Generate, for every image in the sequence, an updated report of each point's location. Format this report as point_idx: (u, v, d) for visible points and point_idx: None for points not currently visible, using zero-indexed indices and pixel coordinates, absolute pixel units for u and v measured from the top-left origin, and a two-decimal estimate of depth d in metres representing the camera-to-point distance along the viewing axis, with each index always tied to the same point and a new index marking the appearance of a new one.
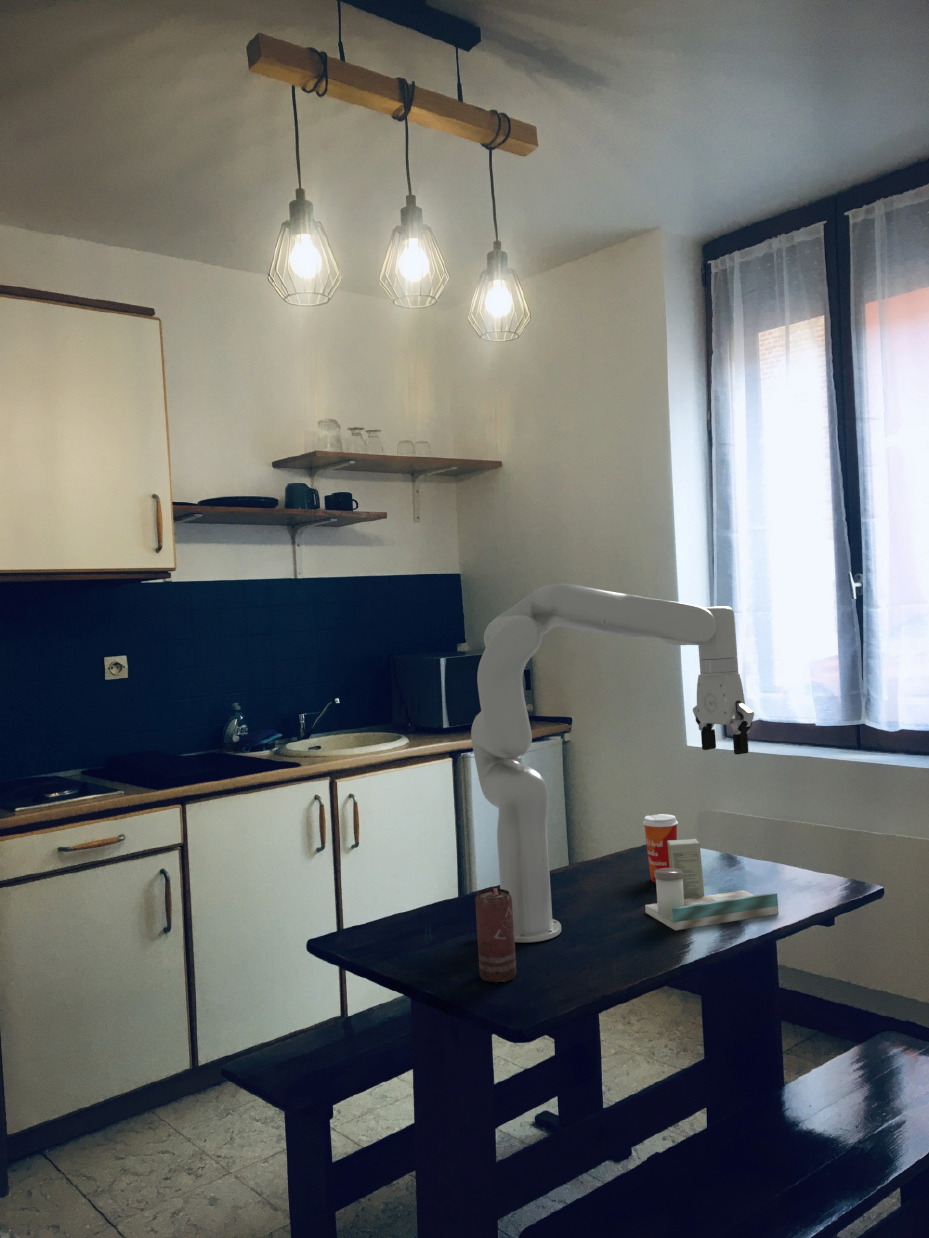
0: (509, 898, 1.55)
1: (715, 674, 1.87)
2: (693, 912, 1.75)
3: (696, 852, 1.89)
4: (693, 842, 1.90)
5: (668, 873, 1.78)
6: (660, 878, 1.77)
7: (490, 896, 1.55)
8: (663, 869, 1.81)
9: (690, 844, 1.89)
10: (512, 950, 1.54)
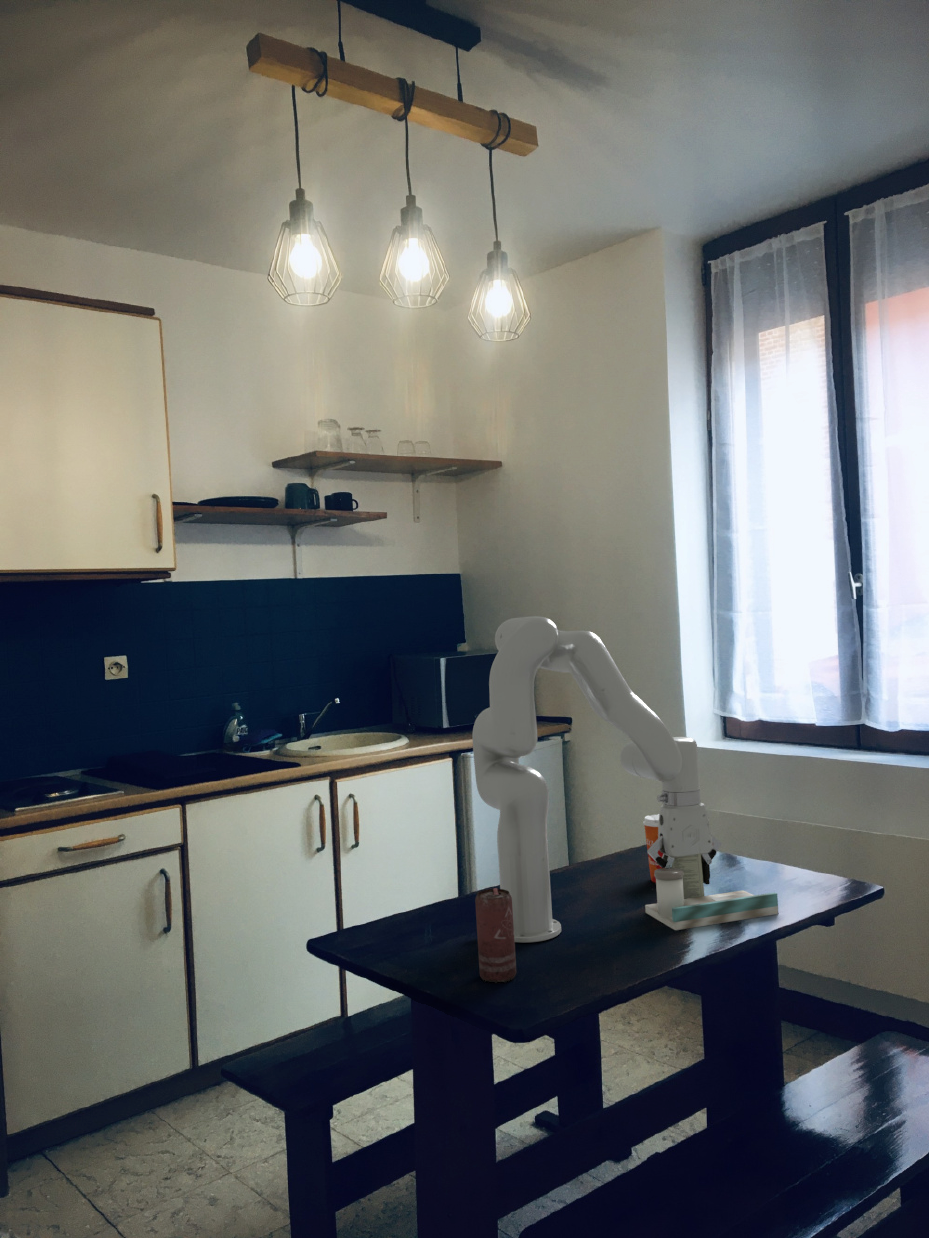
0: (509, 898, 1.55)
1: (699, 805, 1.89)
2: (693, 912, 1.75)
3: None
4: None
5: (668, 873, 1.78)
6: (660, 878, 1.77)
7: (490, 896, 1.55)
8: (663, 869, 1.81)
9: None
10: (512, 950, 1.54)
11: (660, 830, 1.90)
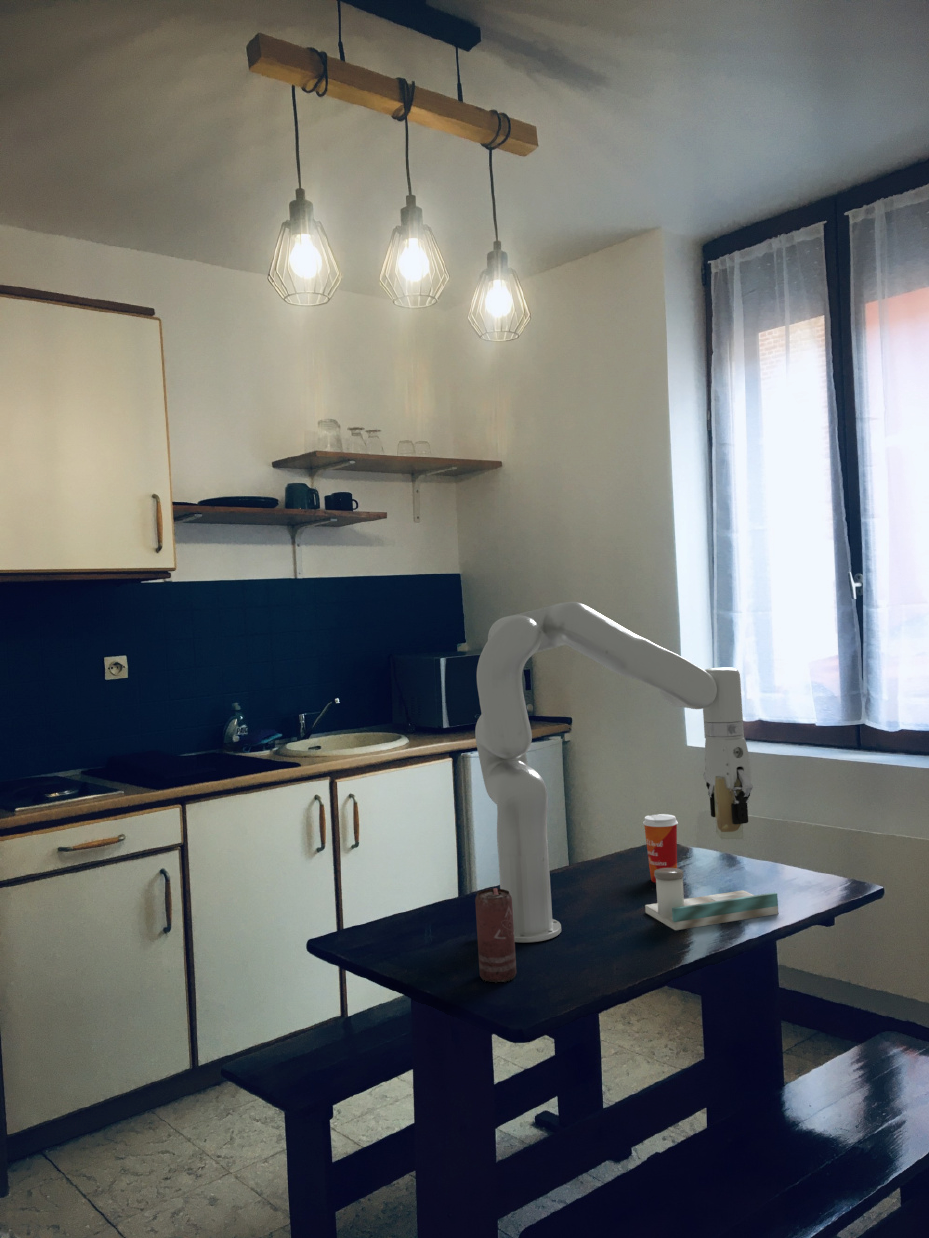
0: (509, 898, 1.55)
1: None
2: (693, 912, 1.75)
3: None
4: None
5: (668, 873, 1.78)
6: (660, 878, 1.77)
7: (490, 896, 1.55)
8: (663, 869, 1.81)
9: None
10: (512, 950, 1.54)
11: (737, 763, 1.80)
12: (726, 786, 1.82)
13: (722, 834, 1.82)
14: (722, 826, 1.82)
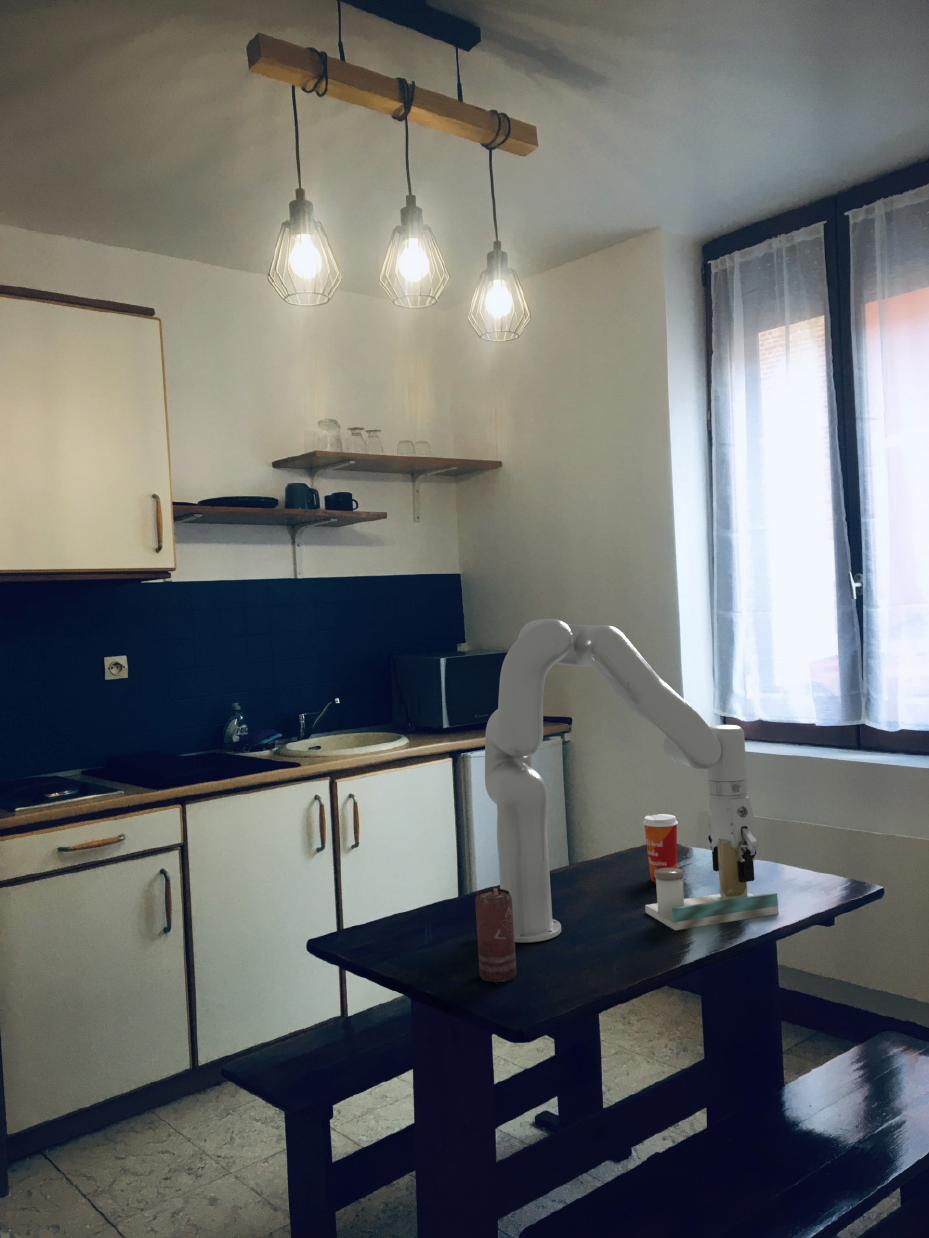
0: (509, 898, 1.55)
1: None
2: (693, 912, 1.75)
3: None
4: None
5: (668, 873, 1.78)
6: (660, 878, 1.77)
7: (490, 896, 1.55)
8: (663, 869, 1.81)
9: None
10: (512, 950, 1.54)
11: (741, 823, 1.80)
12: (730, 845, 1.82)
13: (726, 899, 1.82)
14: (726, 891, 1.82)
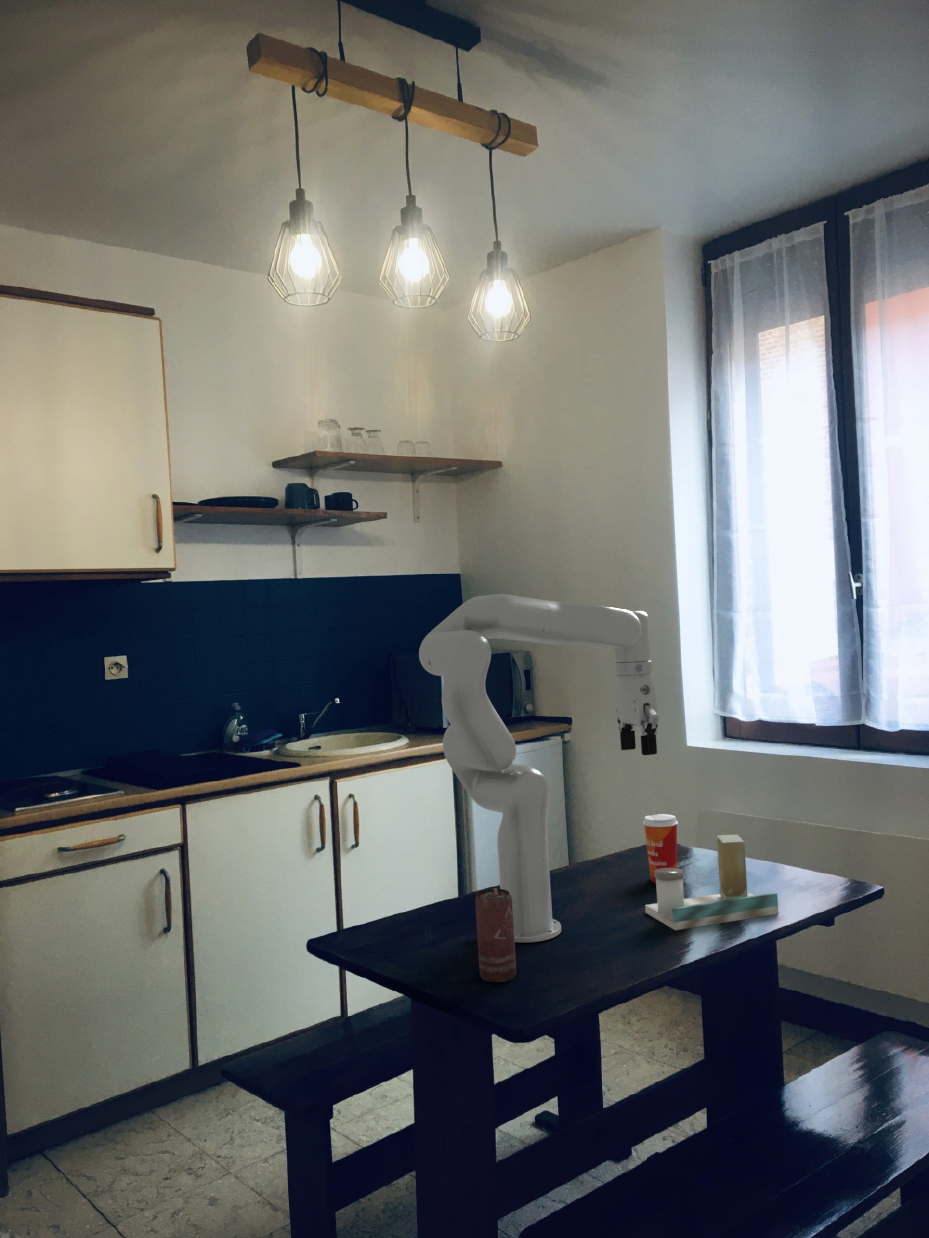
0: (509, 898, 1.55)
1: None
2: (693, 912, 1.75)
3: None
4: (734, 835, 1.87)
5: (668, 873, 1.78)
6: (660, 878, 1.77)
7: (490, 896, 1.55)
8: (663, 869, 1.81)
9: (739, 837, 1.86)
10: (512, 950, 1.54)
11: (644, 700, 1.91)
12: (634, 722, 1.92)
13: (726, 899, 1.82)
14: (726, 891, 1.82)
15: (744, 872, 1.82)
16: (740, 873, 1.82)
